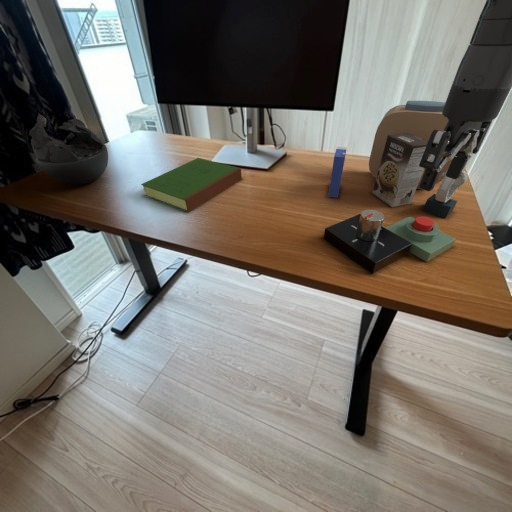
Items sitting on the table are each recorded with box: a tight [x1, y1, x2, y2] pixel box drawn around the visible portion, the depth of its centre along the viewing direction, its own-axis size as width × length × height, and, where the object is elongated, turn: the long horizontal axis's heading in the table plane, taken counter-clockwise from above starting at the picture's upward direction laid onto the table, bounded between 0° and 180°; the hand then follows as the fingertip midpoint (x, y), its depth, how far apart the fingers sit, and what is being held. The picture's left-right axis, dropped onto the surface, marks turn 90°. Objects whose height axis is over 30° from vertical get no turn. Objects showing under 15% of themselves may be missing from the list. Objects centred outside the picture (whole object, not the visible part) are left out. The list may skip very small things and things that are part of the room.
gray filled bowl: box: [28, 118, 109, 186], centre depth 85 cm, size 20×20×19 cm
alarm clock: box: [368, 100, 457, 190], centre depth 76 cm, size 21×10×22 cm, turn 63°
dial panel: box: [322, 213, 412, 275], centre depth 58 cm, size 14×11×3 cm
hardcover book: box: [140, 157, 243, 213], centre depth 84 cm, size 25×19×4 cm
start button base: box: [385, 215, 457, 263], centre depth 59 cm, size 11×9×4 cm
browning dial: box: [356, 209, 385, 241], centre depth 56 cm, size 4×4×5 cm
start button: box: [413, 216, 435, 232], centre depth 57 cm, size 4×4×2 cm
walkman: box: [327, 146, 348, 199], centre depth 76 cm, size 8×3×12 cm, turn 162°
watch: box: [422, 169, 469, 219], centre depth 66 cm, size 6×8×11 cm
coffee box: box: [371, 133, 429, 208], centre depth 70 cm, size 9×6×16 cm
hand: (438, 183), depth 51 cm, fingers open, 8 cm apart
